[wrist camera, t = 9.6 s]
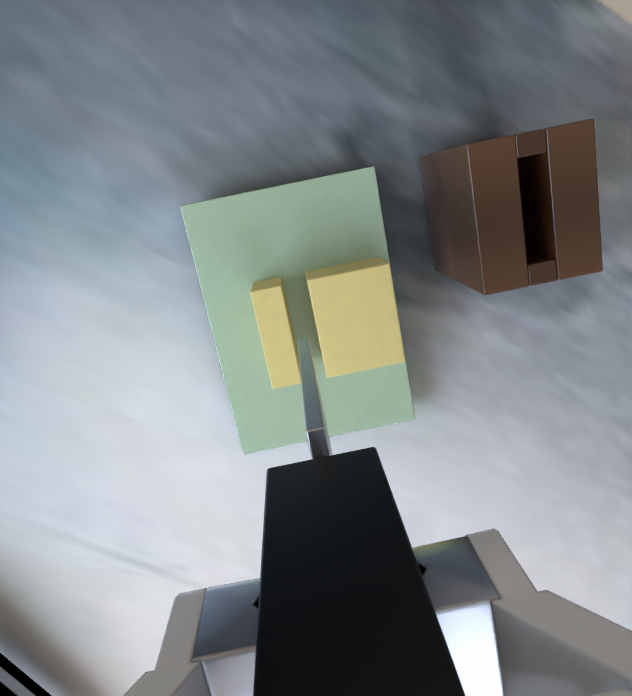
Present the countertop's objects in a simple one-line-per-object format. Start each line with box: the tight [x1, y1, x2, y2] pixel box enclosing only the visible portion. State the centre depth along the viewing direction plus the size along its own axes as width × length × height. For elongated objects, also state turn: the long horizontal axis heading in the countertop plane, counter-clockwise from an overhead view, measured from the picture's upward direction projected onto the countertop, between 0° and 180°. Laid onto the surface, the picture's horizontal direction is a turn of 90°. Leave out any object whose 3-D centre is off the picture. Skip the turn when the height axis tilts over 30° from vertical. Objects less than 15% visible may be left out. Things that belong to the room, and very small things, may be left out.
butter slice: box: [250, 277, 301, 389], centre depth 29 cm, size 5×2×3 cm, turn 11°
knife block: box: [420, 119, 603, 295], centre depth 26 cm, size 6×5×8 cm
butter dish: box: [180, 166, 415, 454], centre depth 31 cm, size 14×10×1 cm
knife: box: [253, 337, 466, 696], centre depth 13 cm, size 4×2×15 cm
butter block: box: [305, 257, 405, 378], centre depth 29 cm, size 5×4×3 cm
